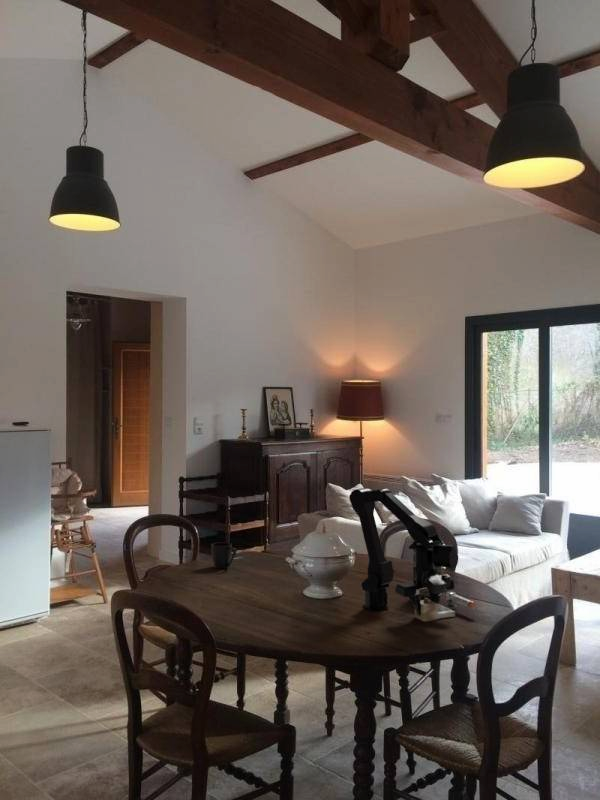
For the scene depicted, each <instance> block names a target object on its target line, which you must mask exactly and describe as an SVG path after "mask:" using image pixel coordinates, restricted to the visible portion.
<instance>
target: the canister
mask: <svg viewBox="0 0 600 800" xmlns="http://www.w3.org/2000/svg"><path fill="white" fill-rule="evenodd" d="M412 550H413V551H412V552H413V554H412V555H413V556H412V557H413V560H412V561H413V562H412V563H413V565H412V566H416V565H415V549H412ZM434 568H437V574H438V575H439V576H440V575H442V574H441V573H442V567H440V566H436V565H435V564H434ZM412 570H413V569H412ZM412 578H413V579H412V581H413V582H412V583H413V584H412V585H416V583H414V579H416V570H413V572H412ZM419 594H420V595H422V597H424V598H428V597H429V598H430V595H429V589H425V590H419Z"/></svg>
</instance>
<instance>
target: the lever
mask: <svg viewBox="0 0 600 800" xmlns="http://www.w3.org/2000/svg"><path fill="white" fill-rule="evenodd" d="M445 600H446V601H447V600H453V601H455V603H458V604H460V605H462V606H464V607H467V608H469V609H470V610H473V609H475V608H476V607H477V606H476V605H477V604H476V602H475V601H474V600H470V599H468V598H465V597H463V596H461V595H458V594H457V593H456V592H455V591H447V592H446V593H445Z"/></svg>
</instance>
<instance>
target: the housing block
mask: <svg viewBox="0 0 600 800" xmlns="http://www.w3.org/2000/svg"><path fill="white" fill-rule="evenodd" d="M438 604H439V602H438V603H435V602H433V601H431V600H430V598H428V597H424V598H423V599H420V605H421V614H420V616H419V615H418V614H417V612H416V610H415V609H414V617H415V618H416V619H417V620H420V621H422V622H429V621H437V620H438V619H437V615H438Z"/></svg>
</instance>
